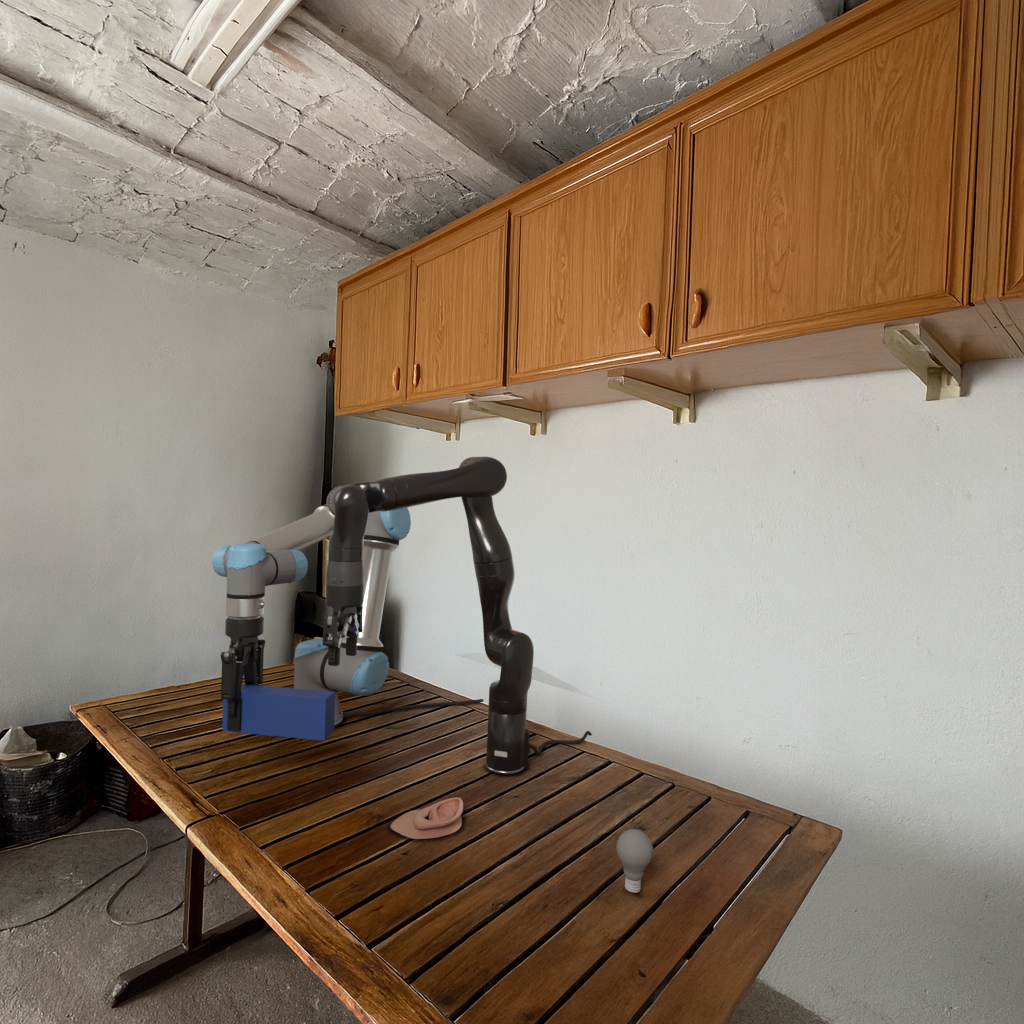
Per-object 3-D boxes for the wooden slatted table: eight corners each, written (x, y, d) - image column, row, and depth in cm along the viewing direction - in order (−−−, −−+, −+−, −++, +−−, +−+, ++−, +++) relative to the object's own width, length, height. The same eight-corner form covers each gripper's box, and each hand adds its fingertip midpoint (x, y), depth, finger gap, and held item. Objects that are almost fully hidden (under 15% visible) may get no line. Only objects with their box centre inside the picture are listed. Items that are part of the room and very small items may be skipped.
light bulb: (610, 879, 108) (613, 822, 108) (644, 879, 109) (647, 822, 109) (619, 902, 102) (622, 840, 102) (655, 901, 103) (658, 840, 103)
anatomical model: (384, 813, 120) (406, 787, 131) (383, 834, 120) (405, 806, 131) (452, 824, 117) (468, 796, 128) (451, 845, 117) (467, 815, 128)
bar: (222, 731, 133) (223, 690, 133) (235, 723, 138) (236, 683, 138) (324, 740, 130) (325, 698, 130) (334, 732, 135) (335, 691, 135)
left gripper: (238, 626, 125) (234, 742, 126) (282, 610, 143) (278, 712, 144) (202, 623, 126) (199, 738, 127) (251, 608, 144) (247, 709, 145)
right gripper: (348, 587, 123) (345, 671, 123) (375, 578, 137) (373, 653, 137) (311, 585, 124) (309, 668, 124) (342, 576, 138) (340, 650, 138)
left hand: (241, 724), depth 135 cm, fingers closed on bar, 5 cm apart
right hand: (342, 660), depth 131 cm, fingers open, 8 cm apart
